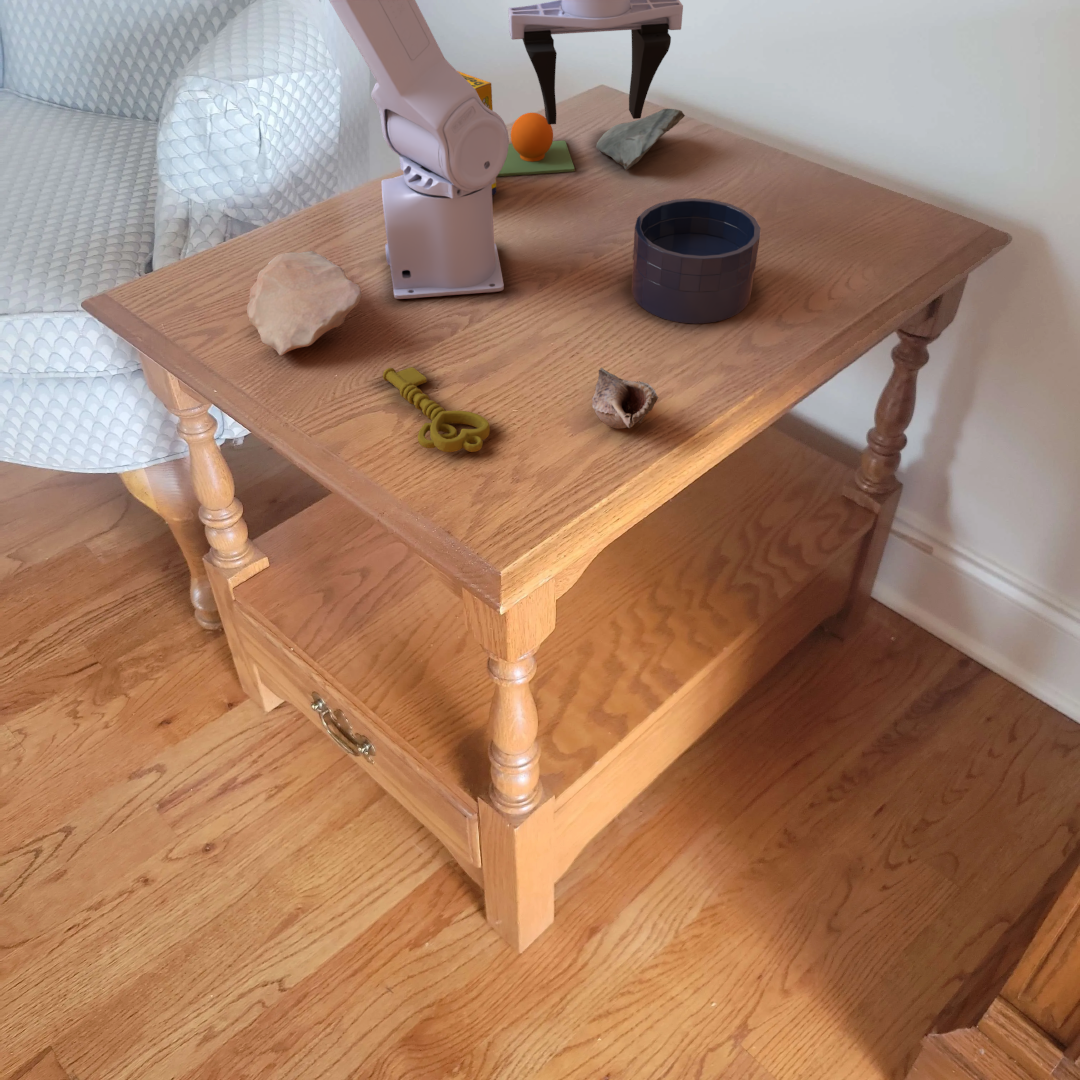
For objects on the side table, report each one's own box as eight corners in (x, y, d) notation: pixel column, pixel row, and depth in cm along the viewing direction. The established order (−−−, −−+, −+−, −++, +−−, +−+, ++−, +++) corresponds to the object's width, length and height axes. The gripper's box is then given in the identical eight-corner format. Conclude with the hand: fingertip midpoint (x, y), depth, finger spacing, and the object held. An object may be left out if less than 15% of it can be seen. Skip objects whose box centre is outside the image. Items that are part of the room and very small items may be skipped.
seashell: (648, 451, 74) (598, 456, 73) (618, 369, 78) (570, 373, 77) (666, 412, 70) (613, 417, 69) (632, 328, 74) (582, 332, 73)
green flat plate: (497, 176, 103) (497, 174, 103) (491, 147, 108) (491, 145, 108) (574, 171, 104) (574, 168, 104) (565, 142, 109) (565, 140, 109)
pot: (644, 328, 83) (648, 262, 79) (622, 265, 90) (625, 202, 86) (764, 318, 84) (775, 253, 80) (733, 257, 91) (741, 194, 87)
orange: (531, 169, 104) (530, 126, 101) (502, 156, 106) (501, 114, 103) (561, 156, 106) (562, 114, 103) (533, 143, 108) (532, 102, 105)
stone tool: (257, 346, 77) (212, 264, 87) (295, 386, 80) (247, 303, 90) (349, 274, 77) (294, 200, 87) (383, 316, 80) (326, 241, 90)
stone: (578, 184, 104) (670, 168, 100) (569, 145, 102) (663, 127, 98) (609, 151, 112) (696, 136, 108) (601, 114, 110) (690, 97, 105)
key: (411, 372, 80) (356, 391, 77) (411, 357, 79) (355, 376, 76) (503, 445, 73) (446, 468, 71) (503, 430, 72) (446, 454, 70)
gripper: (674, -71, 85) (662, 94, 94) (502, -62, 83) (507, 104, 93) (694, -47, 80) (679, 125, 89) (512, -37, 78) (516, 136, 88)
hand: (592, 117), depth 91 cm, fingers open, 7 cm apart
